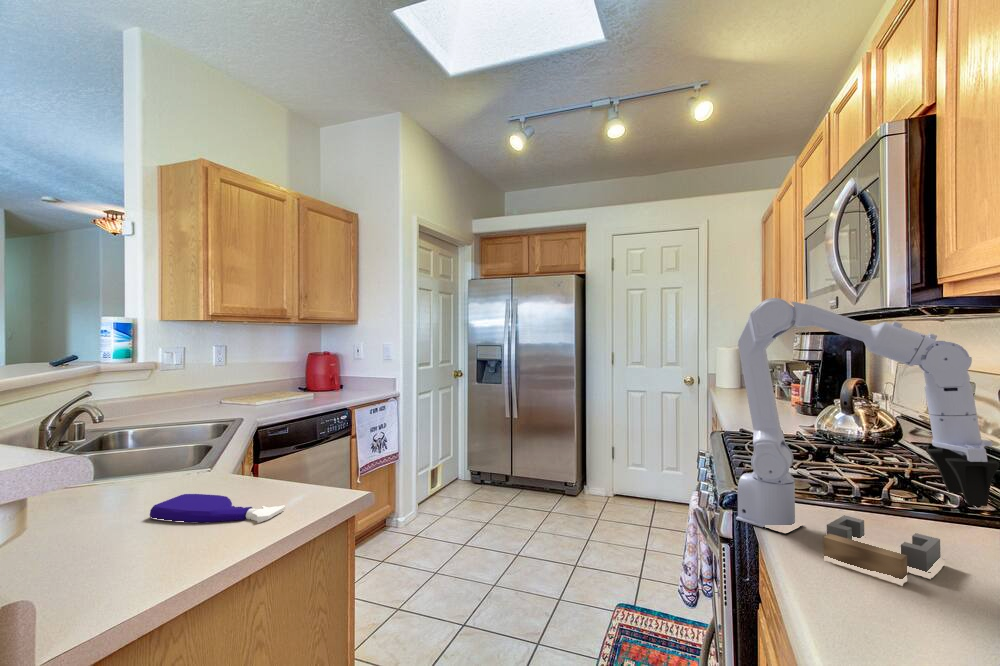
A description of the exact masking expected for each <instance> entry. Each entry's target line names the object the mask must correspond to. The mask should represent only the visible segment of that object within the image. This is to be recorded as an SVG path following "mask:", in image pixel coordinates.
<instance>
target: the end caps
mask: <svg viewBox="0 0 1000 666" xmlns="http://www.w3.org/2000/svg"><path fill="white" fill-rule="evenodd" d="M829 533H830V534H833V535H837V536H840V537H844V538H847V539H851V540H852V536H853V537H857V538H861V537H862V536H864V535H865V519H861V518H857V517H853V516H848V515H842V516H840V517H839V518H837V519H835V520H833V521H831V522H829V523H828V524H826V535H827V534H829ZM911 539H912V540H911V542H907V541H904V542H902V543H901V544H900V547H901V554H904V555H907V566H909V567H912V568H916V569H919V570H922V571H925V572H927V571H928V570H929V569H930V568H931V567H932V566H933V564H934V563H935V562H936V561H937V560H938V559H939V558H940V557H941V556H942V555H941V538H937V537H933V536H929V535H925V534H921V533H917V532H915V533H913V534H912V536H911ZM941 558H942V557H941Z"/></svg>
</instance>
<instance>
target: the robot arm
mask: <svg viewBox="0 0 1000 666" xmlns="http://www.w3.org/2000/svg"><path fill="white" fill-rule="evenodd" d="M793 327H796V328H799V329H800V328H801V329H802V328H811V327H816V328H819V329H823V330H826V331H829V332H833V333H835V334H839V335H842V336H844V337H847V338H851V339H854V340H858V341H861V342H863V343H864V346H865V347H866V350H867V352H869V353H872V354H874V355H876V356H880V357H882V358H883V357H884V358H886V359H890V360H892V361H895V362H898V363H900V364H904V365H907V366H909V367H914V366H918V367H919V368H920V370H922V371H923V375H924V377H923V378H924V383H925V386H924V392H925V398H926V404H927V411H928V416H929V417H928V418H929V423H930V429H931V435H932V440H931V444H932V446H933V447H935V448H928V449H926V450H925V452H926V454H928V455H929V457H930V458H931V460H932V461H933V462H934V463H935V466H936V468H937V469H938V472H939V474H940V476H941V479H942V481H943V482H944V483H943V484H944V486H945V487H946V489H947V491H948V493H950V494H962V495H963V498H964V499H965V502H966V504H967V505H968V506H970V507H971V506H972V507H988V504H989V500H990V492H991V491H990V490H991V485H992V481H993V478H994V476H995V474H996V472H997V470H999V467H1000V462H998V461H997V460H988V455H987V449H986V448H985V447H992V446H993V441H991V440H989V439H982V437H981V430H980V424H979V419H978V411H977V407H976V406H977V405H976V401H975V397H974V396H975V395H974V391H973V390H974V389H973V386H972V384H971V383H970V380H971V376H970V374H969V369H970V368H971V366H972V363H973V359H972V357H971V356H970V355H969V352H968V351H967V350H966V349H965V348H964V347H963V346H961V345H960V344H958V343H955V342H952V341H945V340H937V338H938V335H937V334H933V333H928V335H927V334H924V333H922V332H921V333H920V332H918V331H914V330H911V329H908V328H906V327H903V323H900V322H898V321H893V322H892V323H888V322H885V321H883V322H880V323H877V324H874V325H870V324H867V323H864V322H861V321H859V320H855V319H852V318H850V317H847V316H844V315H841V314H838V313H835V312H833V311H829V310H827V309H824V308H821V307H818V306H815V305H812V304H807V303H802V302H797V301H790V302H788V301H787V300H785V299H783V298H780V297H779V298H778V297H770V298H767V299H764V300H763V301H762V302H760V303H759V304H758V305H757V306H755V308H754V309H753V310H751V312H749V317H748V320H747V322H746V324H745V326H744V328H743V330H742V332H741V335H740V336H739V339H738V340H737V344H738V345H737V347H738V352H739V353H738V354H739V357H740V363H741V369H742V374H743V379H744V385H745V392H746V397H747V401H748V402H747V403H748V408H749V412H750V419H751V423H752V429H753V435H752V446H753V453H752V456H751V458H750V459H751V460H750V463H751V464H750V465H751V468H752V470H753V471H752V472H751V473H749V472H746V473H743V474H742V475H741V476H740V477H739V480H738V483H737V516H736V517H735V520H737V521H740V522H743V523H746V524H750V525H754V526H756V527H760V528H763V527H765V525H792V524H794V523H795V521H796V499H795V498H796V495H795V494H796V491H795V490H796V489H795V487H796V486H795V477H794V476H793V475H792V474H791V473H790V468H791V467H792V466H793V463H794V454H793V451H792V450H791V448H790V447H789V446H788V445H787V443H786V440H785V436H784V433H783V430H782V428H781V427H782V426H781V423H780V417H779V412H778V408H777V407H778V406H777V402H776V396H775V391H774V385H773V380H772V376H771V375H772V374H771V371H770V365H769V359H768V354H767V348H769V346H770V345H772V344H773V342H774V341H775V340H776V338H777V337H779V336H781V335H782V334H784V333H786V332H788V331H789V330H791V329H792V328H793Z"/></svg>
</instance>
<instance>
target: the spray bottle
mask: <svg viewBox="0 0 1000 666" xmlns="http://www.w3.org/2000/svg"><path fill="white" fill-rule="evenodd" d="M286 508H287V507H286V505H284V504H282V505H280V506H275V505H274V506H271V507H268V506H265V505H262V506H261V508H259V509H258V508H253V507H252V506H246V507H244V506H234V505H233V503H232V500H231V499H230V498H229V497H228V496H226V495H220V494H219V495H218V494H205V493H204V494H203V493H184V494H180V495H177V496H174V497H172V498H170V499H169V498H168V499H167V500H165V501H162V502H159V503H156V504H154V505H153V506H152V507H151V509H150V511H149V518H151V517H152V518H157V519H164V520H172V521H184V522H212V523H221V522H220V521H226V522H236V521H235V520H239V521H245V519H246V520H250V519H251V521H255V522H256V523H257V524H260V523H263V522H265V521H267V520H270V519H272V518H273V517H275V516H276V515H279V514H280V513H282V512H283V511H285V510H286Z"/></svg>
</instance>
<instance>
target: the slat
mask: <svg viewBox="0 0 1000 666" xmlns="http://www.w3.org/2000/svg"><path fill="white" fill-rule="evenodd" d="M822 541H823V542H822V543H823V545H822V548H823V549H822V550H823V555H824V556H828V557H830V558H833V559H836V560H838V561H841V562H844V563H847V564H850V565H854V566H857V567H860V568H863V569H867V570H870V571H876V572H879V573H883V574H887V575H891V576H893V577H895V578H899V579H903V578H904V577H905V576H906V575H907V576H908V573H907V555H904V554H900V553H897V552H893V551H890V550H886V549H883V548H879V547H876V546H872V545H869V544H865V543H861V542H858V541H854V540H851V539H847V538H844V537H840V536H837V535H833V534H830V533H829V534H827V533H826V535H824V536H822ZM823 555H822V556H823ZM824 556H823V557H824Z"/></svg>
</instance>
